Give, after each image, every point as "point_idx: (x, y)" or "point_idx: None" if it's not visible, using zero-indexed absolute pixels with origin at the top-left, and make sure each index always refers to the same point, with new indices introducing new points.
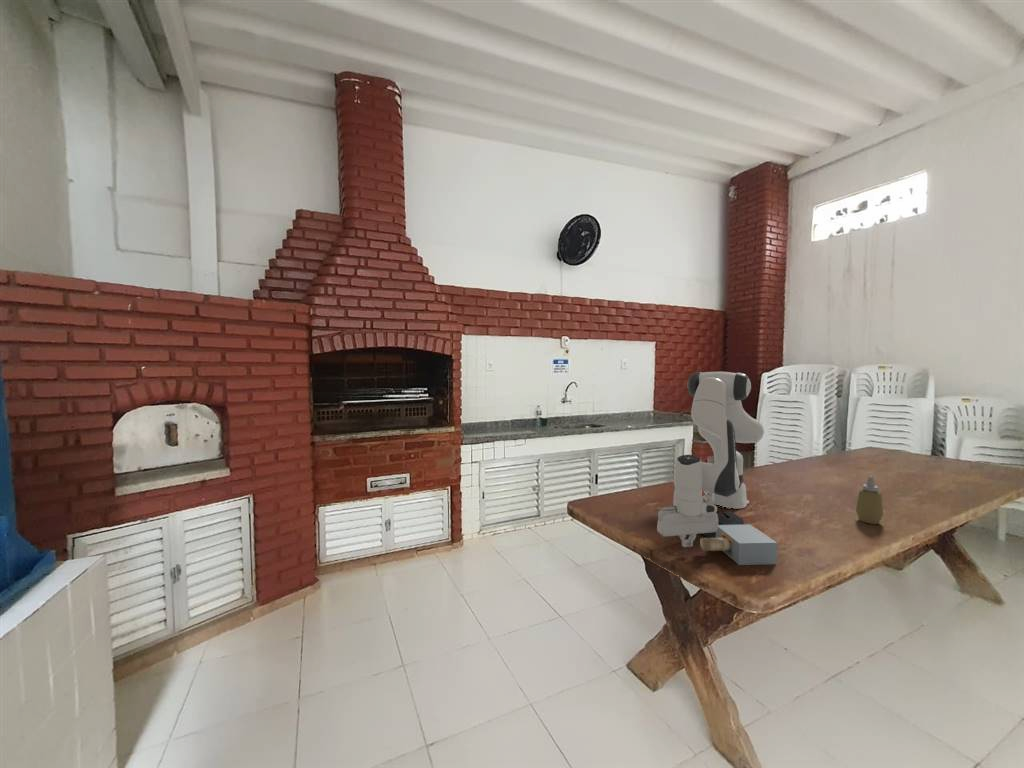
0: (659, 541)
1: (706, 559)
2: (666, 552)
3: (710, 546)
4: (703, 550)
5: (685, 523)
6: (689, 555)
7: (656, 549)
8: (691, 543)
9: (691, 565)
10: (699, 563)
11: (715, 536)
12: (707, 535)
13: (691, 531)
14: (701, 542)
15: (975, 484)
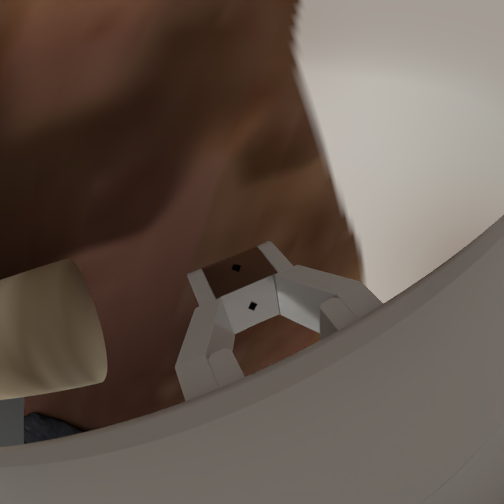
0: (300, 338)
1: (71, 187)
2: (325, 235)
3: (16, 288)
4: (81, 276)
5: (492, 434)
6: (191, 225)
7: (354, 256)
8: (209, 287)
9: (237, 58)
10: (152, 98)
11: (37, 429)
12: (69, 431)
13: (312, 393)
14: (96, 345)
15: None
